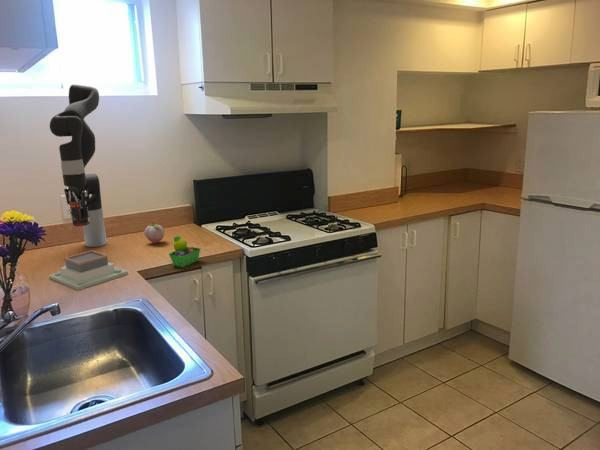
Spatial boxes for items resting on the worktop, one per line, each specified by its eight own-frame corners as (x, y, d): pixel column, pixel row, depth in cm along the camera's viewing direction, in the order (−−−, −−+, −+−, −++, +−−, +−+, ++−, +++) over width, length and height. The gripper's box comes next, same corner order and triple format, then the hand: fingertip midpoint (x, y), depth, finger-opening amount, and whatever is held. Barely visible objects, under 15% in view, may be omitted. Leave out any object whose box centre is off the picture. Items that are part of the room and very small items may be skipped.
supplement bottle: (93, 223, 185) (89, 193, 182) (82, 227, 180) (77, 197, 177) (81, 222, 187) (76, 193, 184) (69, 226, 182) (64, 196, 179)
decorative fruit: (169, 242, 230) (167, 221, 228) (156, 246, 224) (153, 225, 221) (156, 239, 235) (153, 219, 233) (142, 244, 229) (140, 223, 226)
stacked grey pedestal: (49, 278, 187) (45, 258, 185) (98, 263, 202) (95, 245, 200) (78, 290, 174) (74, 269, 172) (128, 273, 189) (125, 254, 187)
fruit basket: (182, 268, 193) (179, 241, 190) (166, 265, 198) (163, 238, 195) (202, 260, 202) (200, 234, 199) (187, 257, 207) (184, 231, 204)
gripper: (53, 172, 180) (61, 216, 184) (73, 175, 171) (80, 221, 175) (73, 169, 185) (80, 212, 190) (93, 172, 177) (100, 217, 181)
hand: (80, 216), depth 182 cm, fingers closed on supplement bottle, 6 cm apart
